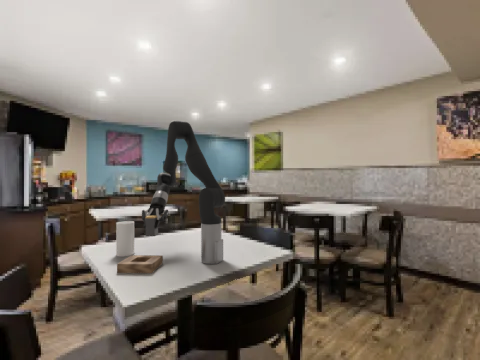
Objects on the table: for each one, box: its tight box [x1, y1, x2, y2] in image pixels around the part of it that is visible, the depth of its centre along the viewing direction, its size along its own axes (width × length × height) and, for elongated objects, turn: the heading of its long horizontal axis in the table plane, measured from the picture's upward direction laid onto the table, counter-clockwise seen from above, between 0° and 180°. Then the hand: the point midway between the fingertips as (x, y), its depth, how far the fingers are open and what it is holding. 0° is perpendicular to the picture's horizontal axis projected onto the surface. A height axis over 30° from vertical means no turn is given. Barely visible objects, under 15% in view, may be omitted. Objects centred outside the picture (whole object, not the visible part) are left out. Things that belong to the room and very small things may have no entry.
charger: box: [145, 215, 159, 237], centre depth 121 cm, size 4×4×10 cm
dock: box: [116, 254, 164, 274], centre depth 104 cm, size 14×12×4 cm
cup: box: [115, 220, 135, 257], centre depth 125 cm, size 8×8×16 cm
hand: (150, 227), depth 119 cm, fingers closed on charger, 4 cm apart
